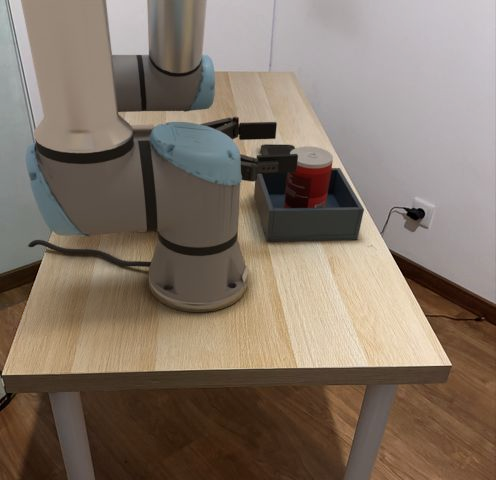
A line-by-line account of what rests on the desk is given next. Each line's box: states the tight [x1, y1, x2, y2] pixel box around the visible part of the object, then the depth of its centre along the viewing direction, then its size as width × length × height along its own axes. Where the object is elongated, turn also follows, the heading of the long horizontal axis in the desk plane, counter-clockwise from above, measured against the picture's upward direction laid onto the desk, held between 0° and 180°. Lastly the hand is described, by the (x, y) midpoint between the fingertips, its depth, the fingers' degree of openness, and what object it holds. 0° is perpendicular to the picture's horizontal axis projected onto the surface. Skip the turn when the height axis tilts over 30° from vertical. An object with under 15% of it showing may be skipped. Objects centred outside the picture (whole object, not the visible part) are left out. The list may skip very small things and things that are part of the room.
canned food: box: [284, 146, 334, 208], centre depth 97 cm, size 8×8×11 cm
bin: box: [253, 167, 365, 243], centre depth 99 cm, size 17×17×6 cm
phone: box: [260, 143, 296, 155], centre depth 118 cm, size 8×1×15 cm
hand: (285, 145), depth 90 cm, fingers open, 13 cm apart
